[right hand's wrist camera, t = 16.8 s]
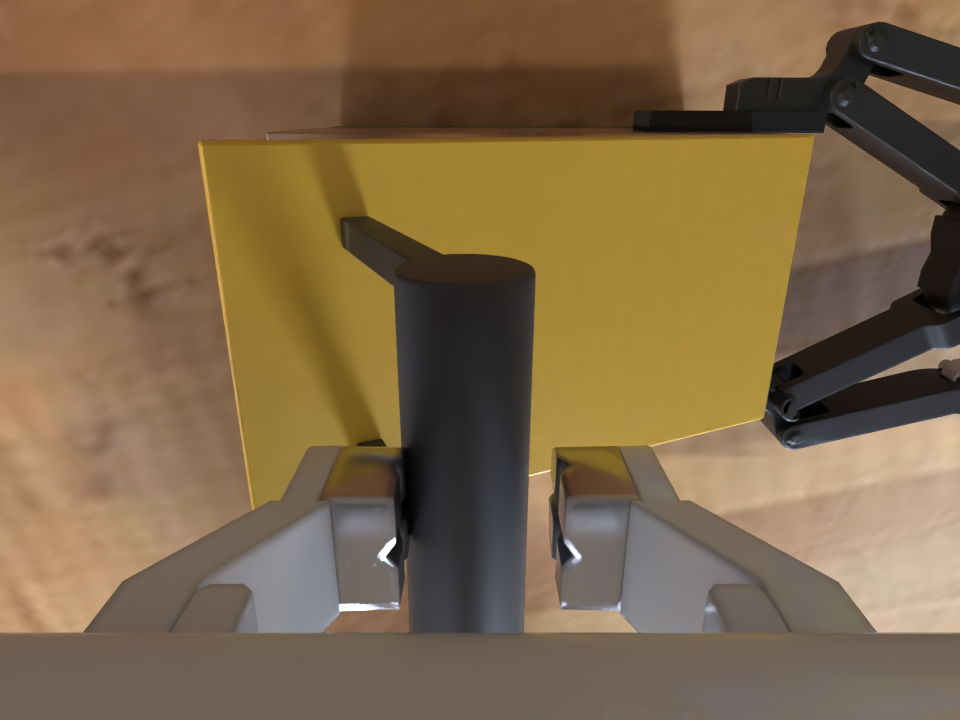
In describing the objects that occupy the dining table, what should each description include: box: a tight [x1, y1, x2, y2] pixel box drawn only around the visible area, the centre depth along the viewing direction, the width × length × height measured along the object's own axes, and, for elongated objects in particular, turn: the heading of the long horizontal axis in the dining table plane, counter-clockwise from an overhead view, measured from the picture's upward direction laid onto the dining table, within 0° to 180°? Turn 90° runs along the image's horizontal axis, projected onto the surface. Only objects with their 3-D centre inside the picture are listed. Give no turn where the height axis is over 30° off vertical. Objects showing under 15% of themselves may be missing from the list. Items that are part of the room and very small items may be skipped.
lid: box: [198, 134, 814, 633], centre depth 15 cm, size 18×10×9 cm, turn 89°
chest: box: [266, 127, 780, 140], centre depth 28 cm, size 17×10×11 cm, turn 90°
